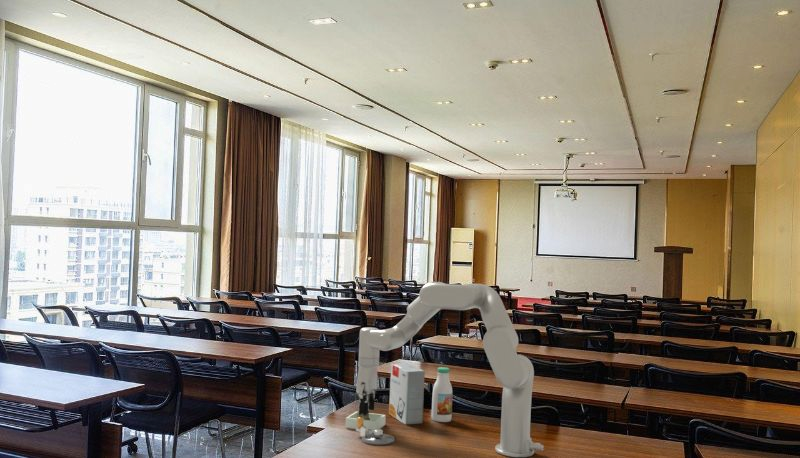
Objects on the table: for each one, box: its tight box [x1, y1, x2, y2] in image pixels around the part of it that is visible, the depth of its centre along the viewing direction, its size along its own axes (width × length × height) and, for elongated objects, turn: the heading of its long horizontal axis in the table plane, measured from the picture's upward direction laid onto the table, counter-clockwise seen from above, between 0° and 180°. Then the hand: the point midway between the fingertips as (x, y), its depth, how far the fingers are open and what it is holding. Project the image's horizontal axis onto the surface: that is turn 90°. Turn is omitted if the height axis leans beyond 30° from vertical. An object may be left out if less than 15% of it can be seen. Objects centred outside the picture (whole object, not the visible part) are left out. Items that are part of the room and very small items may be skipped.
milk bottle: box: [431, 366, 453, 423], centre depth 257 cm, size 8×8×20 cm
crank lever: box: [355, 417, 384, 438], centre depth 227 cm, size 10×3×5 cm, turn 58°
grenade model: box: [356, 389, 378, 420], centre depth 243 cm, size 6×7×15 cm
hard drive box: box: [388, 363, 426, 426], centre depth 256 cm, size 16×8×20 cm, turn 25°
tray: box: [344, 411, 387, 430], centre depth 243 cm, size 12×11×4 cm
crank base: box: [359, 426, 395, 446], centre depth 225 cm, size 12×11×4 cm
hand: (366, 411), depth 243 cm, fingers closed on grenade model, 5 cm apart
